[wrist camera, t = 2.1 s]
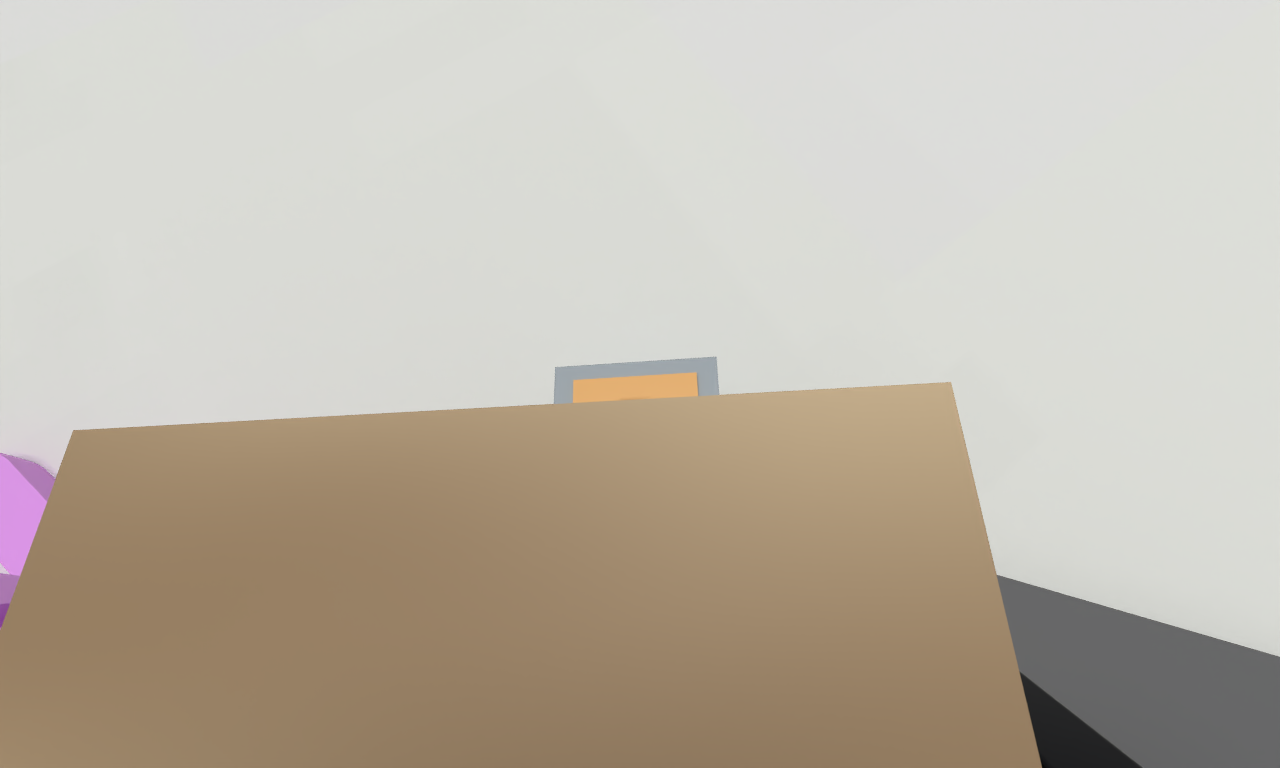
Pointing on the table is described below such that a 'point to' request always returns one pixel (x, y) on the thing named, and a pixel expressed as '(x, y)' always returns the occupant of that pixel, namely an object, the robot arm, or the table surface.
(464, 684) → the wooden block
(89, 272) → the table surface
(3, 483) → the bracket
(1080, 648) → the charcoal mat
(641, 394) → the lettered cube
